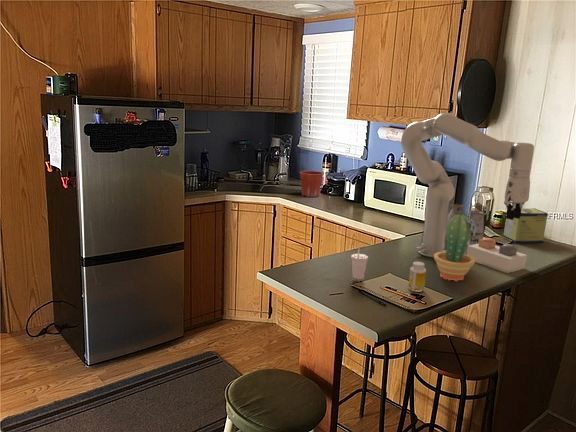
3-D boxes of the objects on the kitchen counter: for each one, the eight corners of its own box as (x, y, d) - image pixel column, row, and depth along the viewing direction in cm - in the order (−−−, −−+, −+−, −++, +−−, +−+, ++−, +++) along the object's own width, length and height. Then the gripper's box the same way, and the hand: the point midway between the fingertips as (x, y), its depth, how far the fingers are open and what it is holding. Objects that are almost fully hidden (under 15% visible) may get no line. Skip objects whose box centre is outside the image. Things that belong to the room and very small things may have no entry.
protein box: (543, 243, 241) (548, 212, 238) (514, 243, 239) (519, 213, 235) (530, 237, 251) (534, 208, 248) (502, 237, 249) (506, 208, 245)
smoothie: (355, 276, 188) (357, 241, 184) (369, 280, 184) (372, 245, 181) (346, 280, 183) (348, 244, 180) (360, 285, 179) (363, 248, 176)
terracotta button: (487, 254, 208) (489, 241, 207) (477, 251, 212) (479, 238, 211) (494, 253, 211) (496, 239, 209) (484, 250, 215) (486, 236, 213)
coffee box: (482, 248, 229) (487, 215, 225) (468, 247, 230) (472, 214, 227) (479, 243, 238) (483, 210, 234) (465, 241, 239) (469, 209, 235)
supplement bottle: (426, 290, 177) (429, 263, 174) (419, 294, 173) (422, 267, 170) (412, 285, 180) (415, 259, 178) (405, 289, 176) (407, 263, 174)
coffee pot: (443, 224, 270) (446, 198, 267) (465, 226, 267) (468, 200, 264) (443, 234, 251) (447, 206, 247) (467, 237, 248) (471, 208, 244)
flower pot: (309, 192, 348) (310, 169, 344) (327, 196, 337) (328, 173, 333) (293, 195, 336) (294, 171, 332) (311, 199, 325) (312, 175, 321)
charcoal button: (508, 261, 200) (510, 247, 199) (498, 258, 204) (500, 244, 203) (515, 260, 203) (517, 246, 201) (505, 256, 207) (507, 243, 205)
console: (507, 273, 197) (509, 259, 196) (466, 258, 213) (468, 245, 212) (524, 268, 203) (527, 254, 202) (483, 254, 220) (485, 242, 218)
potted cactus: (456, 287, 180) (465, 221, 174) (423, 274, 193) (429, 212, 186) (480, 279, 189) (489, 216, 183) (447, 267, 201) (454, 208, 195)
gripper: (515, 176, 187) (508, 222, 192) (540, 174, 196) (533, 218, 200) (498, 173, 193) (492, 218, 198) (523, 171, 202) (516, 214, 207)
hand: (512, 218), depth 199 cm, fingers open, 3 cm apart
